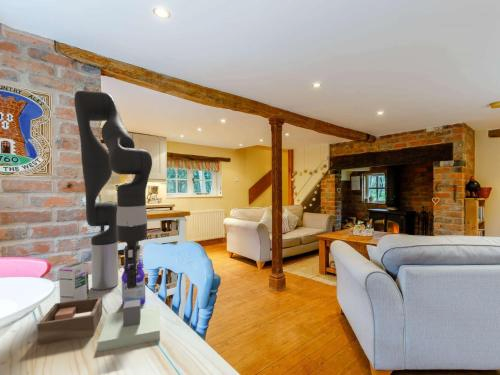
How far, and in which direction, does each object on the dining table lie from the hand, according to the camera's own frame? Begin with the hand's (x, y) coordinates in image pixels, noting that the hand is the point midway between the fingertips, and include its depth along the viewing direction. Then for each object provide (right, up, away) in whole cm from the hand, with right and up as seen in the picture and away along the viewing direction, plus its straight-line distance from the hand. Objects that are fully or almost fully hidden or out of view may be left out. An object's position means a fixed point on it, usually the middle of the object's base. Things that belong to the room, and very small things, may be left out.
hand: (133, 281), depth 71 cm
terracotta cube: (-20, -13, +3) cm, 24 cm away
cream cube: (-14, -13, 0) cm, 19 cm away
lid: (0, -14, 0) cm, 14 cm away
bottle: (-7, -14, +17) cm, 23 cm away
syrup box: (-25, -14, +14) cm, 32 cm away
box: (-17, -14, +1) cm, 22 cm away
